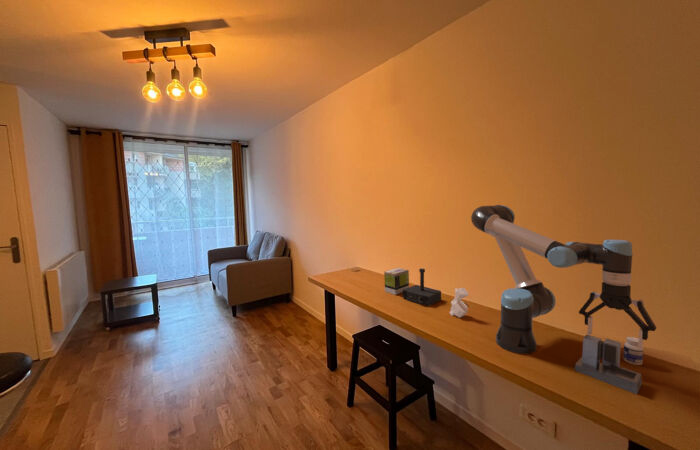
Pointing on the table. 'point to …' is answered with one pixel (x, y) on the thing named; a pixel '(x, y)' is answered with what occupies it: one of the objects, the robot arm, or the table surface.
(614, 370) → the grey block fixture
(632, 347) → the pill bottle
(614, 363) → the long gray rectangular block
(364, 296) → the table surface
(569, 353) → the table surface
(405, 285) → the tea box
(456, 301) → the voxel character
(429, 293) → the dark box with post
